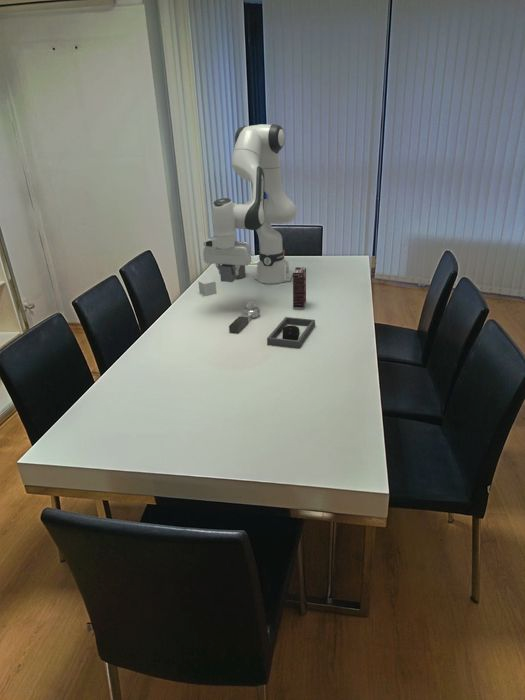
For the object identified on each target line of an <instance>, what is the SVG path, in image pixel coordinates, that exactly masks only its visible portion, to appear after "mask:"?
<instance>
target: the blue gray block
mask: <svg viewBox="0 0 525 700" xmlns="http://www.w3.org/2000/svg"><path fill="white" fill-rule="evenodd" d="M219 267H220V274H219V275H220V282H223V283H224V282H225V283H226V282H227V283H233V282H235V281H236V280H238V279H237V275H234V273H233V271H234V270H236V268H237V267H235V265H228V264H221V265H220V266H219Z"/></svg>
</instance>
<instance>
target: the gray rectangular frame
mask: <svg viewBox="0 0 525 700" xmlns="http://www.w3.org/2000/svg"><path fill="white" fill-rule="evenodd" d="M288 325H291V326H304V327H306V328H305V329H304V330H303V332H302V333H301V335H299V337H298V340H288V339H282V338H279V337H278V336H279V335H280V333H281V332H283V328H284V327H286V326H288ZM315 327H316V320H315V319H311V318H302V317H300V318H299V317H289V316H285V317H284V318H283V319H282V321H280V322H279V323H278V325H277V326H276V327H275V328H274V330H273V331H272V332H271V333H270V334H269V335H268V336H267V338H266V342H267V343H266V344H267V346H275V347H276V346H277V347H283V346H284V348H293V349H300V348H301V347H302V346H303V344H304V342H305V341H306V340H307V338H308V336H309V335H310V334H311V332H312V331H313V330H314V328H315Z"/></svg>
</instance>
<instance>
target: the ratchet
mask: <svg viewBox="0 0 525 700" xmlns="http://www.w3.org/2000/svg"><path fill="white" fill-rule="evenodd" d="M260 312H261V310H260V307H259V306H256V303H255V301H251V300H250V301H247V303H246V307H245V306H244V307H243V308H242V315H241V316H238V317H237V318H236V319H235V320H234V321H233V322H231V323H230V324H229V326H228V330H229V331H228V332H229V334H240V333H241V332H242V331H243V330H244V329H245V328H246V327H247V326H248V325H249V323H250V322H252V320H256V319H259V318H260V316H261V314H260Z"/></svg>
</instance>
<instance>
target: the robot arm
mask: <svg viewBox="0 0 525 700" xmlns="http://www.w3.org/2000/svg"><path fill="white" fill-rule="evenodd" d="M234 135H235V136H234V142H235V143H234V144H235V145H234V150H233V153H232V158H231V167H232V170H233V171H234V172H235V174H236V175H237V176H238V177H240V178H241V179H243V180H246V181H248V182H250V183H251V185H252V186H251V187H252V188H251V189H252V190H251V192H252V193H251V200H247V202H245V203H243V204H242V203H234V202H233V201H232V199H231V198H227V197H223V198H218V199H215V200H214V201H213V202H212V211H211V215H212V216H211V218H212V219H211V220H212V225H213V229H214V230H213V236H211V237H210V238H207V239H205V240H204V241H203V250H202V251H203V255H202V257H203V261H204V263H205V264H213V265H215V267H216V269H217V270H218V274H219V275H220V267H219V266H220V265H222V264H228V265H235V267H237V268H236V270H234V271H233V273H234V275H238V270H239V268H240V265H245V267H246V266H249V265H250V264H251V263H252V254H251V245H250V244H249V243H248V242H246V241H238V240H237V231H236V229H238V230H239V229H240V230H241V229H242V230H248V231H249V230H250V231H256V234H257V236H258V241H259V254H258V259H259V260H258V262H256V263H257V264H256V265H257V267H256V275H255V276H254V279H255V280H256V281H258V282H259V283H261V284H267V285H268V284H269V285H270V284H272V285H273V284H276V285H277V284H281V283H285V282H290V281H291V280H292V279H293V272H294V270H290V267H289V261H287V260H286V258H285V254H286V253H285V252H286V250H285V249H283V237H282V234H281V233H280V232H279V231H277V230H276V229H274V228H273V226H272V224H275V225H276V224H279V225H281V224H288V223H292V222H293V221H294V220H295V218H296V217H297V207H296V204H295V203H294V201H292V200H291V199H290V198H289V197H288V196H287V194H286V193H285V191H284V188H283V185H282V174H281V156H280V151H281V150H282V148H283V147H284V145H285V140H286V139H285V138H286V136H285V135H286V134H285V130H284V129H283V127H282V126H281V125H279V124H266V123H265V124H263V123H261V124H254V125H249V126H248V125H244V126H241V127H239V128H238V129H237V131H235V134H234ZM265 193H266V194H267V197H268V199H267V198H265Z"/></svg>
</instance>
